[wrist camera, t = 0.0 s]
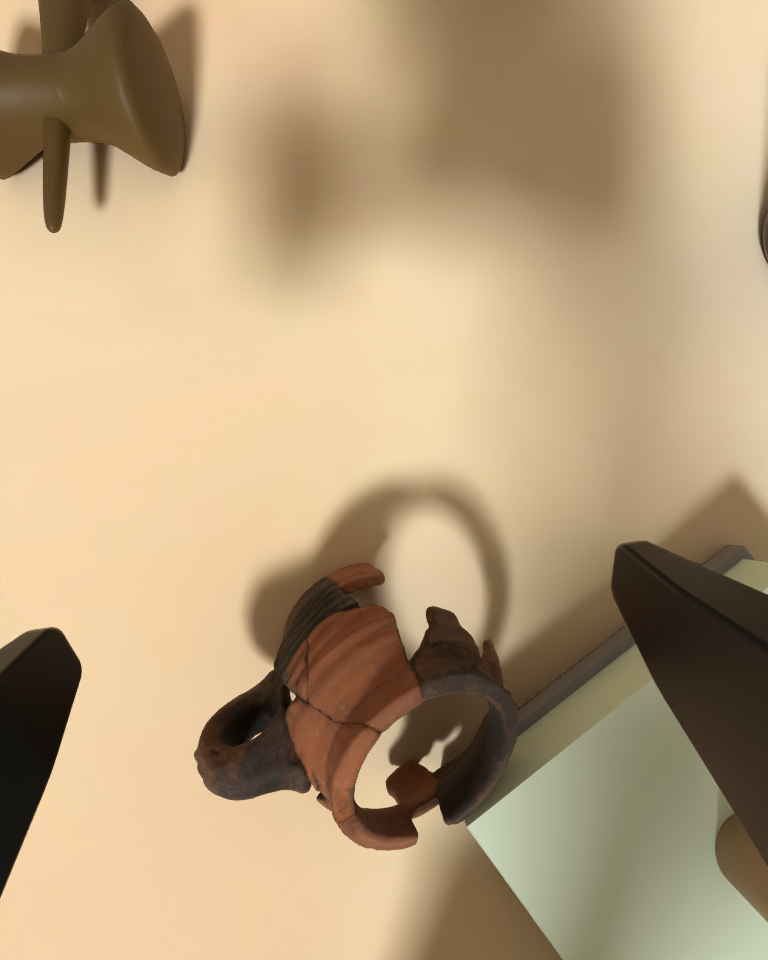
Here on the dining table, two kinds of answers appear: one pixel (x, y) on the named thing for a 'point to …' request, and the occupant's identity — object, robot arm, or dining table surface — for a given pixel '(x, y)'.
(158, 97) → the kendama
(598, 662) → the mat
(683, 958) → the lid
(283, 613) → the dining table surface
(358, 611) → the pottery mug
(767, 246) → the supplement bottle
